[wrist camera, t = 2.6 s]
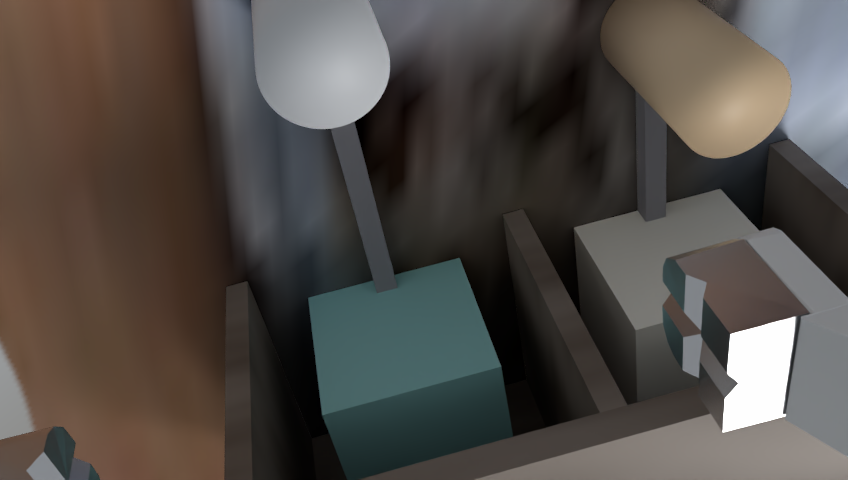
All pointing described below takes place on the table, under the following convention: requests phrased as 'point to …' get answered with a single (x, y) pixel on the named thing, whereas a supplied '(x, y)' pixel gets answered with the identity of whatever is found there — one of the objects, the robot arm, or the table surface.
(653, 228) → the cylinder on stand
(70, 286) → the table surface
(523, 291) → the divided storage tray
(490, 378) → the ball-top joystick
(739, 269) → the robot arm
